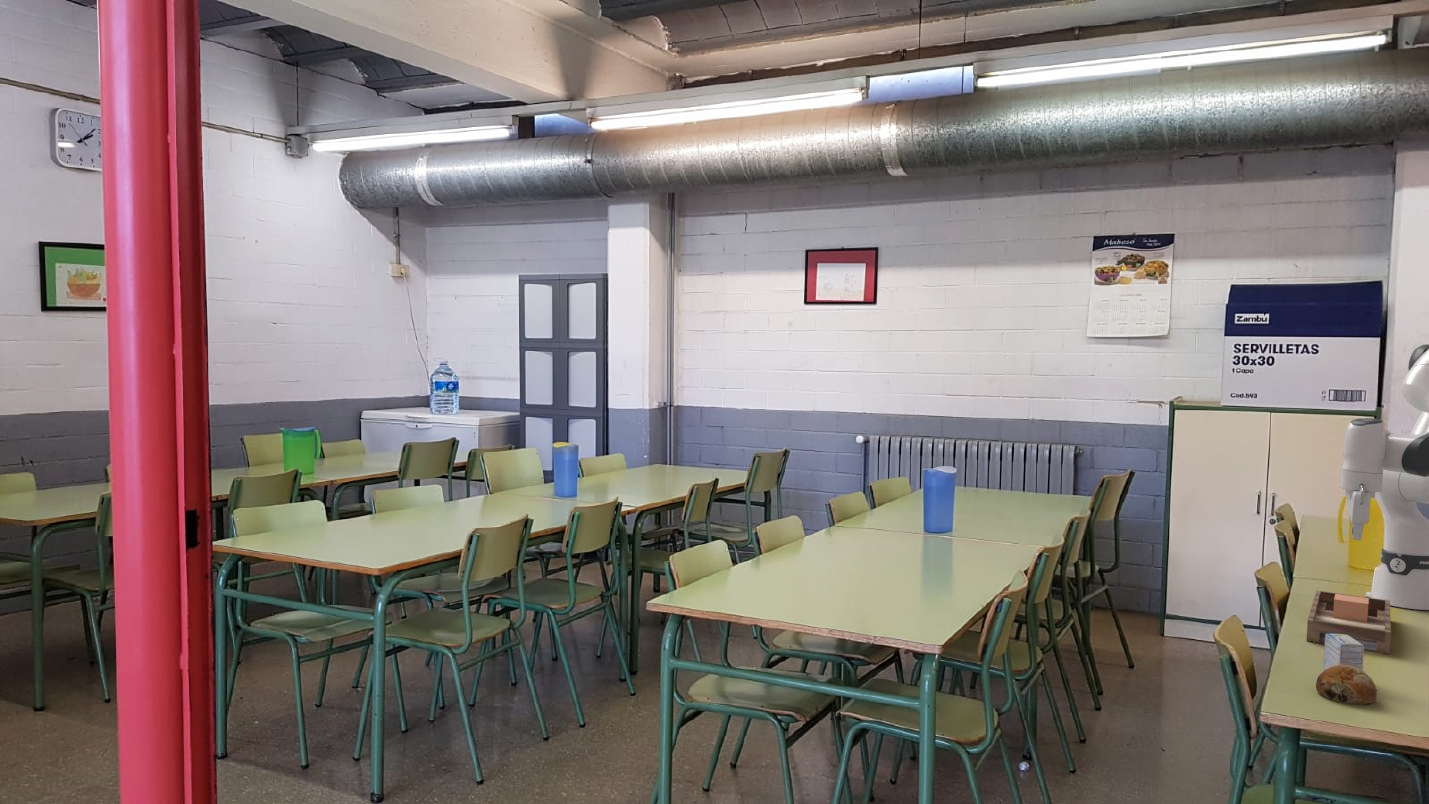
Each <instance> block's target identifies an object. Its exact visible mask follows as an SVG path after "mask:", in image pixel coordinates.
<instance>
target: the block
mask: <svg viewBox="0 0 1429 804" xmlns="http://www.w3.org/2000/svg"><path fill="white" fill-rule="evenodd" d="M1340 594H1341V593H1338V594H1335V598H1334V610H1333V618H1340V619H1347V620H1354V621H1360V622H1367V617H1368V602H1369V598H1370V597H1368V598H1362V597H1363V596H1360V597H1355V596H1356V595H1353V596H1348V595H1349V594H1346V595H1340Z"/></svg>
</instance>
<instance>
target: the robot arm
mask: <svg viewBox="0 0 1429 804" xmlns="http://www.w3.org/2000/svg"><path fill="white" fill-rule="evenodd" d="M1407 369H1408V372H1407V374H1405V376H1404V378H1403V380H1402V383H1401V391H1402V395H1403V397H1404V399H1405V400H1406V401H1407V403H1409V404H1410V405H1411V406H1413V407H1414V408H1416V409H1417V410H1418V411H1420V413H1419V415H1418V417H1417V419H1416V422H1415V424H1414V426H1413V428H1412V430H1411V431H1410V433H1409V434H1407V433H1406V434H1405V433H1404V434H1403V433H1395V432H1391V431H1389V430H1387V429H1386V424H1385V421H1384V420H1382V419H1379V418H1371V417H1369V418H1368V417H1367V418H1361V417H1360V418H1356V419H1352V420H1351V421H1349V423H1348V425H1347V427H1346V430H1345V434H1344V439H1343V440H1344V441H1343V446H1342V447H1343V448H1342V455H1343V463H1342V466H1341V472H1340V481H1339V483H1340V484H1339V487H1340V489H1344V491H1345V492H1344V494H1345V496H1346V501H1347V503H1346V504H1347V506H1346V507H1347V514H1348V515H1349V518H1350V522H1351V531H1350V533H1351V535H1352V539H1353V540H1354V541H1362V539H1363V532H1364V528H1365V525H1367V524H1369V522H1370V514H1371V513H1370V512H1371V501H1372V500H1371V499H1375V501H1376V502H1377V504H1378V507H1379V508H1380V511H1381V514H1382V518H1383V529H1384V531H1383V548H1382V549H1381V552H1380V562H1381V563H1380V564H1379V565H1378V566H1376V567H1375V568H1374V573H1373V579H1372V586H1371V591H1366V592H1365V597H1368V598H1375V599H1382V600H1390V607H1391V606H1393V607H1397V608H1402V609H1410V610H1423V611H1425V610H1426V611H1429V519H1428V518H1427V517H1425V516H1424V515H1423V514H1422V512H1421V511H1420V510H1419V507H1418V504H1417V503H1421V504H1427V505H1429V343H1428V344H1421V345H1419V346H1418V347H1416V348H1414V350H1413V351H1412V353H1411V355H1410V357H1409V360H1408V368H1407Z"/></svg>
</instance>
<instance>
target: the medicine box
mask: <svg viewBox="0 0 1429 804" xmlns="http://www.w3.org/2000/svg"><path fill="white" fill-rule="evenodd" d="M1364 653H1365V650H1364V646H1363V645H1362V644H1361V643H1359V642H1358V641H1356V640H1355V639H1353V638H1352V637H1350V636H1348V635H1344V634H1326V635H1325V644H1324V654H1323V671H1324V670H1326V669H1328V668H1330V667H1332V666H1335V665H1343V664H1344V665H1350V666H1354V667H1357V668H1359V669H1361V670H1362V671H1364ZM1323 671H1322V672H1323Z"/></svg>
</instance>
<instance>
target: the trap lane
mask: <svg viewBox="0 0 1429 804" xmlns="http://www.w3.org/2000/svg"><path fill="white" fill-rule="evenodd" d="M1335 594H1340V595H1348V596H1355V597H1362V598H1369V602H1368V617H1367V622H1360V621H1354V620H1347V619H1340V618H1333V610H1334V598H1335ZM1391 624H1392V621H1391V605H1390V600H1382V599H1375V598H1370V597H1368V596H1358V595H1352V594H1345V593H1337V592H1328V591H1322V590H1315V594H1314V597H1313V601H1312V604H1311V608H1310V610H1309V615H1308V617H1307V624H1306V625H1307V627H1306V640H1307V641H1306V642H1310V641H1313V642H1312V643H1316V642H1318V643H1317V644H1322V643H1324V645H1325V635H1326V634H1344V635H1348V636H1350V637H1352V638H1353V639H1355V640H1356V641H1358V642H1359V643H1361V644H1362V645H1363V646H1364V652H1365V651H1367V652H1372V653H1378V652H1379V654H1384V653H1385V654H1386V655H1390V654H1391V653H1390V652H1391V638H1392V635H1391V634H1392V627H1391V626H1392V625H1391Z"/></svg>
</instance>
